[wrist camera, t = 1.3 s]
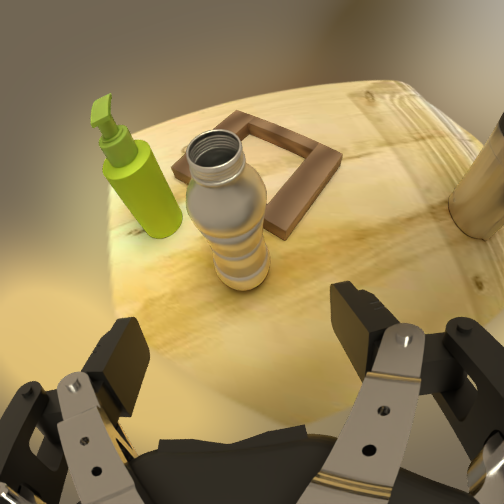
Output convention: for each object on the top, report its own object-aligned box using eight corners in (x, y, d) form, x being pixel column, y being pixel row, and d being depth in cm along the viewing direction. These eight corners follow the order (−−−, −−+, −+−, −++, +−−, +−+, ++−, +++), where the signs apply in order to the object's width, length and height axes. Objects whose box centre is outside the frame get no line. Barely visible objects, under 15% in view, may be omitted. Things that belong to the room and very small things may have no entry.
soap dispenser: (176, 192, 41) (126, 81, 23) (186, 229, 38) (128, 112, 20) (141, 207, 40) (77, 105, 22) (147, 244, 37) (69, 142, 19)
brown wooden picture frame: (340, 165, 41) (342, 154, 39) (285, 240, 36) (285, 231, 34) (238, 120, 47) (236, 109, 45) (175, 177, 42) (170, 167, 40)
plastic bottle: (219, 297, 33) (157, 197, 15) (217, 246, 36) (170, 124, 18) (273, 292, 33) (271, 183, 15) (267, 241, 36) (260, 111, 18)
